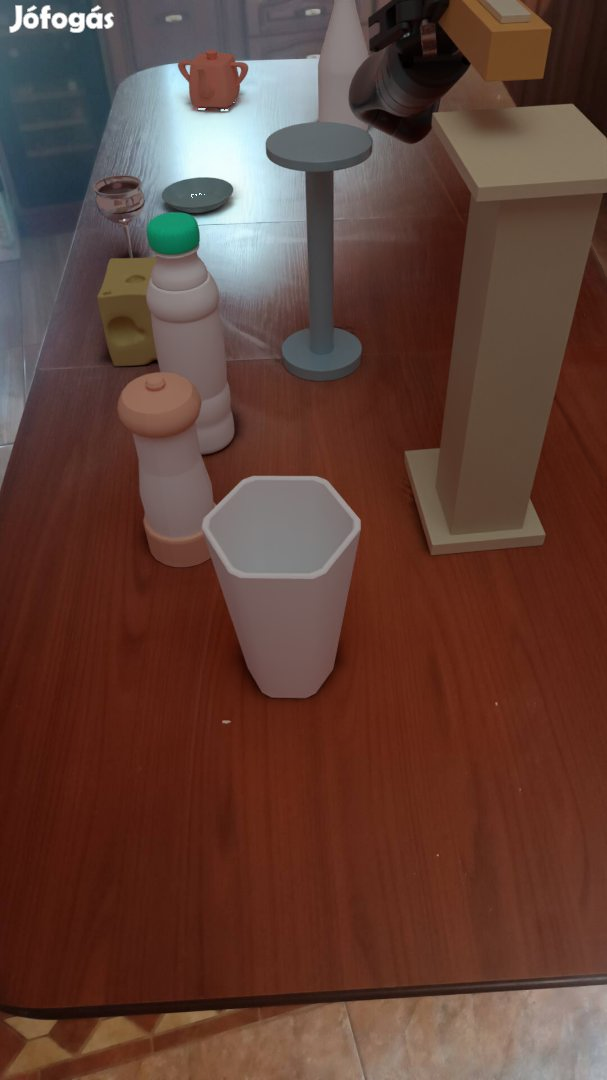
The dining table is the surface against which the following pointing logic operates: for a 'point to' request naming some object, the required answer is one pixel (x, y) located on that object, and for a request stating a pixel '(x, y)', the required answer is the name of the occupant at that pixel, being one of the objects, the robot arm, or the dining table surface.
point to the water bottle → (189, 323)
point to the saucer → (182, 190)
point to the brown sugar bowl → (213, 79)
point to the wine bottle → (340, 64)
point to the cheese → (127, 311)
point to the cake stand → (320, 242)
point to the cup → (285, 576)
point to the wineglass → (120, 201)
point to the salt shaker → (169, 465)
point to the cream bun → (499, 38)
